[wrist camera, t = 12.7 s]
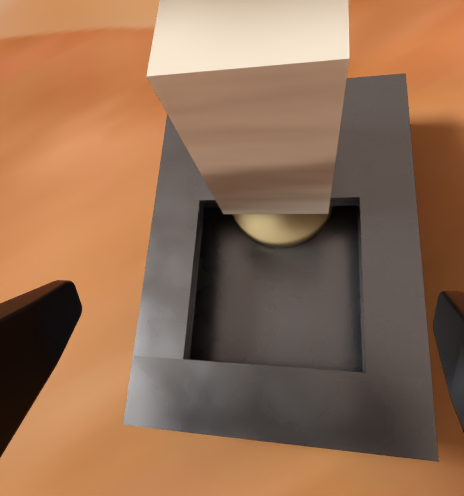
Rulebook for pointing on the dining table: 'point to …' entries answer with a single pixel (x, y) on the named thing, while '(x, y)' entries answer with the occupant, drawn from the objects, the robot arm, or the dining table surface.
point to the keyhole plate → (293, 304)
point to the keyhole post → (257, 105)
